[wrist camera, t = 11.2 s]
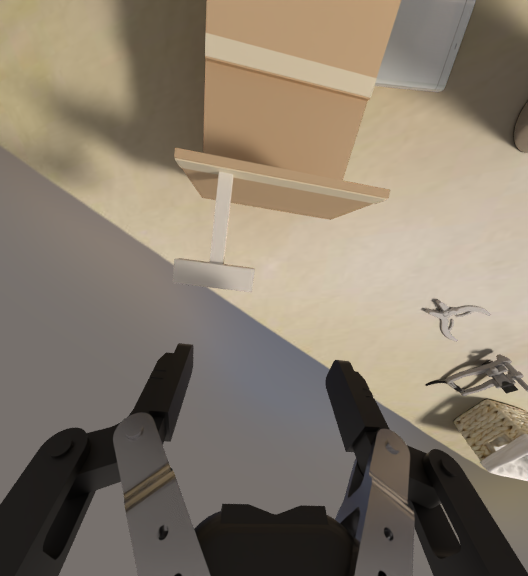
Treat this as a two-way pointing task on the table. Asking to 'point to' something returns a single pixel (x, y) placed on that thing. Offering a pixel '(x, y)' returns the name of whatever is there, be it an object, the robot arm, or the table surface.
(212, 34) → the carton
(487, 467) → the storage basket
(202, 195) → the right flap
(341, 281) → the table surface
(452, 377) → the bike brake
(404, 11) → the hard drive
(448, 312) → the pliers
